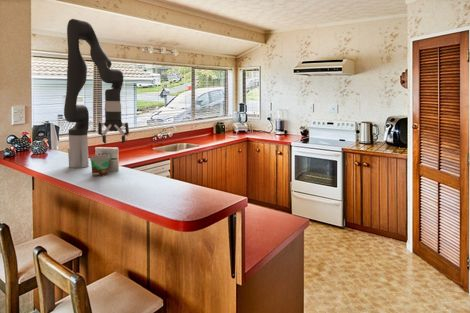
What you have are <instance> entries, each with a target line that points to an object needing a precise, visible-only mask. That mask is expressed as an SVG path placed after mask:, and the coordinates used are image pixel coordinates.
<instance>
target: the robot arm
mask: <svg viewBox="0 0 470 313" xmlns="http://www.w3.org/2000/svg"><path fill="white" fill-rule="evenodd" d="M97 36H98V35H97V34H96V31H95V29H94V27H93V26H92V25H91V23H90V22H88V21H84V20H80V19H76V18H71V19H69V21H68V23H67V26H66V37H67V39H66V40H67V65H66V66H67V67H66V68H67V69H66V92H65V101H64V107H63V116H64V119H65V120H66V122H68V123H75V125H74V126H72V127H71V128H69V129H68V148H69V149H68V150H67V152H68V153H67V156H68V168H75V169H80V168H87V167H89V166H90V164H89V142H88V141H89V140H88V139H89V138H88V131H89V125H90V123H89V122H90V120H89V118H90V117H89V116H90V112H89V110H88V107H87V106H86V105H85V104H77V103H78V102H77V101H78V97H79V94H80V92H81V90H83V87H85V84H86V82H87V76H88V66H87V63H86V62H85V59H84V57H83V55H82V52H81V50H80V41H85V42H86V43H87V44H88V45H89V47H90V48H89V49H90V50H89V53H90V54H89V55H90V58H91V60H92V61H93V63H94V65H95V66H96V67H97V71H98V74H99V78H100V79H101V81H102V82H103V83H105V84H111V86H110V88H107V89H105V91H104V117H105V118H104V120H105V121H104V122H103V121H99V122H98V126H97V127H98V128H97V130H98V131H97V134H98V135H101V137H102V140H101V141H102V143H103V144H107V133H108V132H119V133H120V135H121V144H125V143H126V136H127V135H129V134H130V132H129V130H130V128H129V123H128V122H122V104H121V92H122V88H123V85H124V74H123V72H122V71H121V70H120V69H118V68H111V67H112V62H111V59H110V58H109V57H108V55H107V53H106V52H105V51H104V49H103V47H102V45H101V43H100V41H99V38H98V37H97ZM104 126H105V130H103V127H104ZM122 127H124V128H125V130H123V129H122ZM102 131H103V132H102ZM124 131H125V132H124Z"/></svg>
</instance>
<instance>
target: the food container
mask: <svg viewBox="0 0 470 313" xmlns="http://www.w3.org/2000/svg"><path fill="white" fill-rule="evenodd" d="M109 159H110V156H109V154H108V153H102V155H97V156H95V155H91V156H90V158H89V161H90V164H91V176H92V177H102V176H103V175H104V176H107V175H108V174H109V171H108V161H109Z"/></svg>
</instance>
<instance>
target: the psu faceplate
mask: <svg viewBox="0 0 470 313" xmlns="http://www.w3.org/2000/svg"><path fill="white" fill-rule="evenodd" d="M94 150H95V155H94V156H97V155H102V153H108V154H109V156H110V159H109V161H108V172H119V171H120V165H119V164H120V162H119V159H120V158H119V147H101V146H99V147H97V146H96V147H95V148H94Z"/></svg>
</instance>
